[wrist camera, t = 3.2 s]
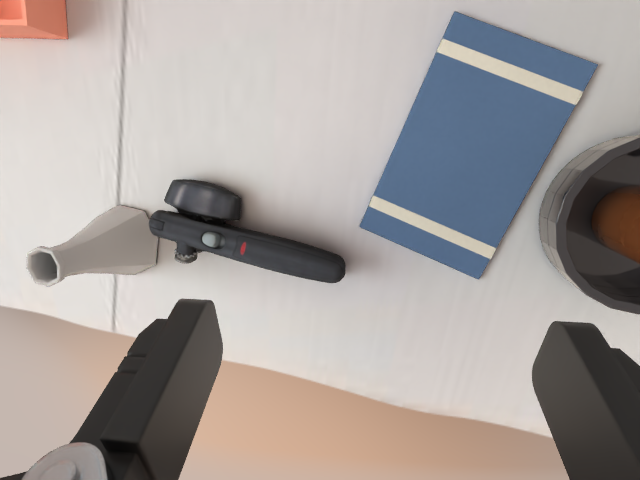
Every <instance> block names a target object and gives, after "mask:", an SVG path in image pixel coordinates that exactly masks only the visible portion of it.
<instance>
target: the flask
mask: <svg viewBox="0 0 640 480" xmlns="http://www.w3.org/2000/svg"><path fill="white" fill-rule="evenodd" d="M157 246H158V237H157V236H155V235H153V234H152V233H151V231H150V228H149V219H148V217H147V215H146V213H145V211H142V210H138V209H134V208H130V207H125V206H121V205H117V206H116V207H114V208H112V209H110V210H108V211H107V212H105V213H103V214H101V215H99V216H98V217H96V218H95V219H94V220H93V221H91V222H90V223H89V224H88V225H87V226H86V227H85V228H84V229H83V230H81V231H80V232H79V233H78V234H76V235H75V236H74V237H72V238H71V239H70V240H69V241H67V242H65V243H63V244H61V245H58V246H54V247H51V248H47V247H44V246H40V247H37V248H35V249H34V250H32V251H30V252H28V253H27V270H28V272H29V274H30V275H31V277H32V279H33V281H34V282H35V283H37V284H40V285H44V286H47V287H49V286H52V285H54V284H56V283H58V282H60V281H62V280H63V279H64V278H65V277H66V276H70V275H77V274H83V273H108V274H123V275H135V274H137V273H140V272H142V271H144V270H146V269H148V268H150V267H152V266H154V265H156V257H157Z"/></svg>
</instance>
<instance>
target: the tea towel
mask: <svg viewBox="0 0 640 480" xmlns="http://www.w3.org/2000/svg"><path fill="white" fill-rule="evenodd" d="M597 66H598V64H595V63H593V62H590V61H587V60H584V59H582V58H579V57H576V56H574V55H571V54H568V53H566V52H563V51H560V50H557V49H555V48H552V47H549V46H547V45H544V44H541V43H539V42H536V41H533V40H530V39H528V38H525V37H522V36H520V35H517V34H514V33H512V32H509V31H506V30H503V29H501V28H498V27H495V26H493V25H490V24H487V23H485V22H482V21H479V20H476V19H474V18H471V17H468V16H466V15H463V14H460V13H458V12H454V13H453V16H452V18H451V20H450V23H449V25H448V27H447V29H446V32H445V34H444V36H443V38H442V41H441V43H440V45H439V47H438V50H437V52H436V54H435V57H434V59H433V61H432V63H431V66H430V68H429V70H428V72H427V75H426V77H425V79H424V81H423V84H422V86H421V88H420V91H419V93H418V95H417V97H416V100H415V102H414V104H413V106H412V109H411V111H410V113H409V115H408V118H407V120H406V122H405V125H404V127H403V129H402V131H401V134H400V136H399V138H398V140H397V143H396V145H395V147H394V149H393V152H392V154H391V156H390V159H389V161H388V163H387V165H386V168H385V170H384V172H383V174H382V177H381V179H380V181H379V183H378V186H377V188H376V190H375V193H374V195H373V197H372V199H371V202H370V204H369V206H368V208H367V211H366V213H365V215H364V217H363V220H362V222H361V224H360V227H361V228H363V229H366V230H368V231H370V232H372V233H375V234H377V235H379V236H381V237H384V238H386V239H388V240H390V241H393V242H395V243H397V244H400V245H402V246H404V247H406V248H409V249H411V250H413V251H415V252H418V253H420V254H422V255H424V256H427V257H429V258H431V259H433V260H436V261H438V262H440V263H442V264H445V265H447V266H449V267H451V268H454V269H456V270H458V271H461V272H463V273H465V274H467V275H470V276H472V277H474V278H476V279H479V278H480V277H481V275H482V273H483V271H484V269H485V268H486V266H487V264H488V262H489V260H490V259H491V258H492V256H493V254H494V252H495V250H496V248H497V246H498V244H499V242H500V241H501V239H502V237H503V235H504V233H505V232H506V230H507V228H508V226H509V224H510V223H511V221H512V219H513V217H514V215H515V214H516V212H517V210H518V208H519V206H520V205H521V203H522V201H523V199H524V197H525V196H526V194H527V192H528V190H529V188H530V187H531V185H532V183H533V181H534V179H535V178H536V176H537V174H538V172H539V170H540V169H541V167H542V165H543V163H544V161H545V160H546V158H547V156H548V154H549V152H550V151H551V149H552V147H553V145H554V143H555V142H556V140H557V138H558V136H559V134H560V133H561V131H562V129H563V127H564V125H565V124H566V122H567V120H568V118H569V116H570V115H571V113H572V111H573V109H574V107H575V106H576V105H577V103H578V101H579V99H580V97H581V96H582V94H583V91H584V89H585V88H586V86H587V84H588V82H589V80H590V79H591V77H592V75H593V73H594V71H595V70H596V68H597Z"/></svg>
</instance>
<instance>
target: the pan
mask: <svg viewBox="0 0 640 480" xmlns="http://www.w3.org/2000/svg"><path fill="white" fill-rule="evenodd" d="M629 185H640V135H635V136H628V137H620V138H615V139H612V140H609V141H606V142H603V143H601V144H598V145H596V146H594V147H592V148H590V149H588V150H586V151H584V152H583V153H581V154H580V155H578V156H577V157H575V158H574V159H573V160H572V161H570V162H569V163H568V164H567V165H566V166H565V167H564V168H563V169H562V170H561V171H560V172H559V173H558V175H557V176H556V177H555V179H554V180H553V181H552V183H551V185H550V186H549V188H548V190H547V192H546V194H545V197H544V199H543V202H542V205H541V209H540V215H539V233H540V239H541V243H542V246H543V249H544V251H545V253H546V255H547V257H548V259H549V260H550V262H551V263H552V264H553V266H554V267H555V268H556V269H557V270H558V271H559V272H560V273H561V274H562V275H563V276H564V277H565V278H566V279H567V280H568V281H569V282H570V283H572V284H573V285H574V286H575V287H577V288H578V289H579V290H580V291H582V292H583V293H584V294H585V295H587V296H589V297H591V298H593V299H595V300H596V301H598V302H600V303H602V304H604V305H605V306H607V307H610V308H612V309H617V310H621V311H626V312H630V313H635V314H640V264H639V263H637V262H635V261H633V260H631V259H629V258H627V257H625V256H622V255H620V254H618V253H616V252H614V251H612V250H610V249H608V248H606V247H605V246H603V245H602V244H601V243H600V242H599V241H598V240H597V239H596V237H595V235H594V233H593V230H592V215H593V212H594V210H595V207H596V206H597V204H598V203H599V202H600V200H601V199H602V198H603V197H604V196H606V195H607V194H608V193H610V192H611V191H613V190H615V189H618V188H620V187H624V186H629Z"/></svg>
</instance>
